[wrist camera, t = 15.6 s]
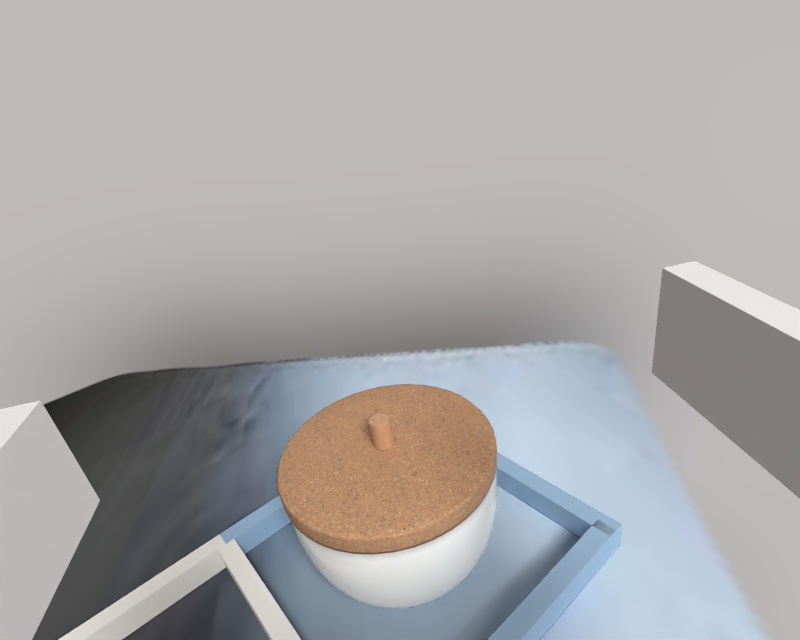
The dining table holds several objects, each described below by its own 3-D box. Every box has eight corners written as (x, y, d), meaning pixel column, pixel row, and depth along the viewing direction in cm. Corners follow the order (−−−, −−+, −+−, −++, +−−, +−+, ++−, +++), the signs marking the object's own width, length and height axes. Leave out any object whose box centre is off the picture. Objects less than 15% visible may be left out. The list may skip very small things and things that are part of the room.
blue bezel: (227, 551, 30) (219, 534, 29) (418, 421, 38) (416, 405, 37) (392, 814, 18) (385, 795, 17) (620, 544, 26) (621, 524, 25)
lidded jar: (344, 699, 22) (287, 553, 17) (297, 524, 31) (253, 401, 27) (549, 589, 24) (542, 441, 20) (450, 459, 34) (432, 339, 29)
